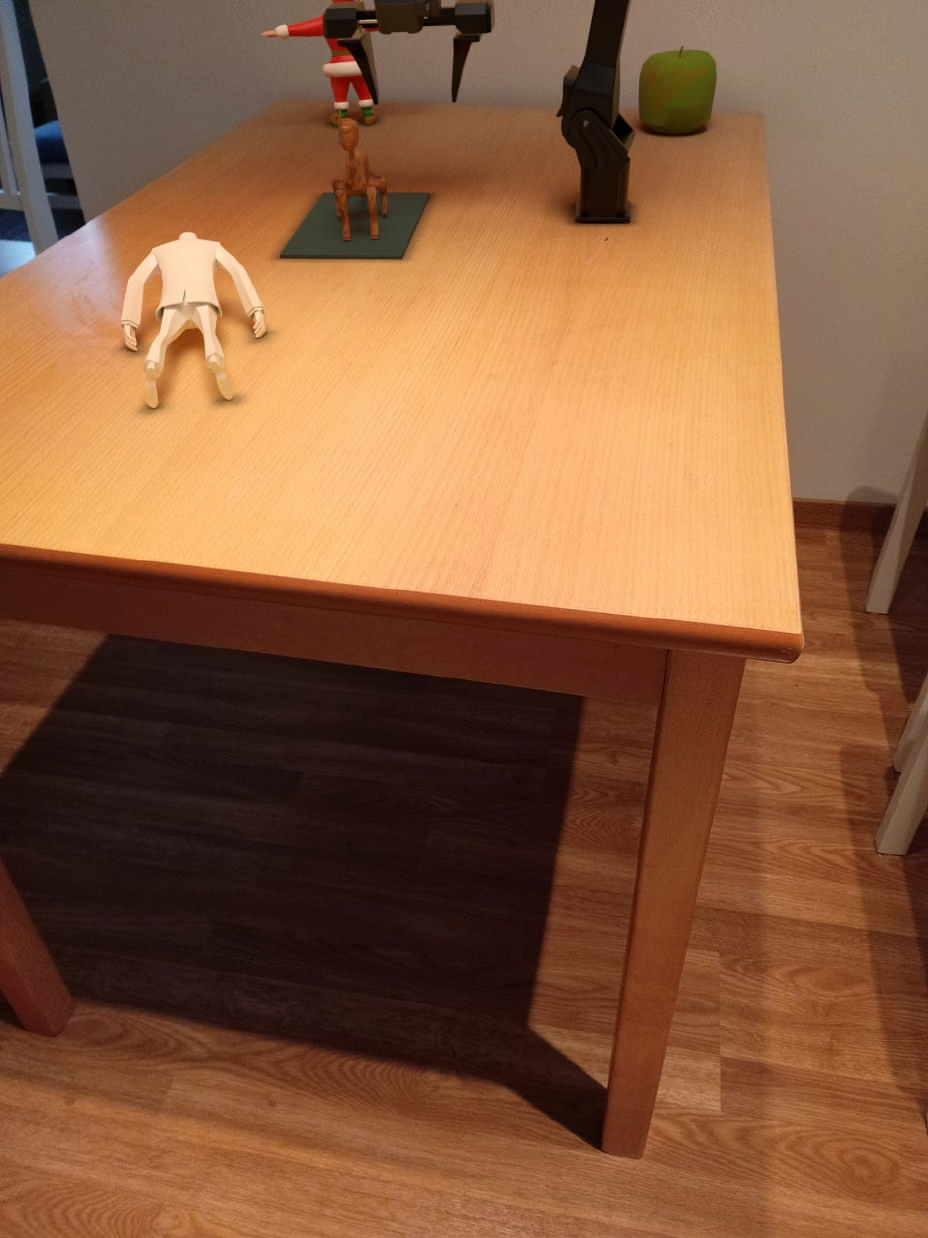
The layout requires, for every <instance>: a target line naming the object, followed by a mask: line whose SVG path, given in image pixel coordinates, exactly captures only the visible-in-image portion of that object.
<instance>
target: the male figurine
mask: <svg viewBox="0 0 928 1238" xmlns="http://www.w3.org/2000/svg"><path fill="white" fill-rule="evenodd" d="M219 270H220V271H221V270H222V271H223V272H224V273H225V274H226V275H227V276H229V277H230V278H231V279H232V280H233V283H234V286H235V289H236V292H237V294H238V297H239V299H240V302H241V304H242V307H243V309H244V312H245V314H246V316H247V317H248V318H249V319H251V320H253V321H254V325H253V327H252V329H253V330H254V332H253V333H254V334H255V336H254V337H255V338H256V339H258V338H261V337H262V336H263V335H264V334H265V333H266V332H267V322H266V319H265V313H266V312H265V311H266V308H265V306H264V304H263V302H262V300H261V298H260V296H259V294H258V291H257V290H256V288H255V285H254V284H253V282H252V280H251V278H250V276H249V274H248V272H247V271H246V269H245V267H244V266H243V265H242V264H241V263H239V261H238V260H237V259H236V257H234V256H233V254H231V253H230V252H229V251H228V250H227V249H225V248H224V247H223V245H221V242H219V241H214V240H208V239H203V238H198V236H197V235H196V234H195V233H194V232H191V231H185V232H182V233H181V234H179V236H178V239H176V240H172V241H169V242H166V243H164V244H160V245H158V246H155V247H153V248H151V251H150V253H149V254H148V255H147V256H146V257H145V258H144V259H143V261H142V262H141V263H139V265H138V267H136V269H135V271H134V272H133V273H132V274H131V275H130V276H129V279H128V281H127V285H126V290H125V296H124V300H123V305H122V306H123V307H122V312H121V318H120V325H121V327H120V328H122V329H123V333H122V334H123V339H124V342H125V346H126V347H127V348H129V349H130V350H132V351H135V352H136V351H137V350H138V348H137V339H136V332H138V331H139V330H140V328H141V319H142V311H143V303H144V293H145V289H146V288H147V287H148V286H149V284H150V283H151V282H152V281H153V280H154V278H156V277H157V276H159V277H161V279H162V280H161V281H162V288H161V289H162V290H161V297H160V301H159V303H158V307H157V308H156V310H155V312H154V313H155V314H154V316H155V320H156V322H157V323H158V324H160V330H159V333H158V335H156V337H155V338H154V339H153V341H152V344H151V345H150V348H149V350H148V353H147V355H146V356H145V358H144V361H143V363H142V365H141V366H140V369H141V370H142V371H143V372H144V374H145V389H144V396H145V397H144V398H145V402H146V404H147V405H148V406H149V407H150V408H153V409H155V408H157V407H158V404H159V393H158V390H157V387H156V379H159V378H160V376H161V374H162V373H163V371H164V365H165V358H166V356H165V355H166V351H167V349H168V345H170V344H171V343H173V342H174V341H175V340H176V339H178V337H179V336H181V335H182V334H183V333H184V332H185V331H186V330H189V329H198V330H199V331H200V333H201V335H202V336H203V344H204V358H205V359H204V360H205V366H206V367H207V368H208V369H209V370H211V371H212V372H213V373H214V376H215V379H216V383H217V386H218V389H219V391H220V393H221V395H222V396H223V397H224V398H225V399H226V400H229V401H230V400H231V399H232V398H233V396H234V391H233V387H232V385H231V382H230V381H229V380H228V378H227V376H226V373H225V372H224V366H225V361H226V360H225V359H226V358H225V355H224V352H223V348H222V345H221V343H220V341H219V339H218V336H217V334H216V328H217V322H218V321H217V320H219V319H221V318H222V316H223V311H222V308H221V306H220V303H219V300H218V296H217V293H216V289H215V281H216V278H217V274H218V272H219Z"/></svg>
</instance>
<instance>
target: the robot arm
mask: <svg viewBox="0 0 928 1238" xmlns="http://www.w3.org/2000/svg"><path fill="white" fill-rule="evenodd" d="M373 5H374V8H369V9H368V8H366V5H365V1H364V0H360V1H357V0H355V1H351V2H334V3H333V2H332V4H330V5H329V6H328V7H327V8H326V9H325V10H324V12H323V13H322V16H323V19H322V22H323V31H324V36H323V38H324V39H325V38H326V39H338V41H337V45H338V46H339V47H345V48H347V50H348V51H349V52H350V53H351V54H352V56H353V57H354V59H355V61H356V63H357V65H358V67H359V69H360V71H361V73H362V75H363V78H364V80H365V83H366V85H367V88H368V90H369V93H370V97H372V98H371V99H372V100H373V105H374V106H378V105H379V103H380V95H379V94H380V91H379V90H380V89H379V88H380V87H379V82H378V75H377V66H376V67H375V63H376V61H375V54H374V48H373V39H372V34H371V33H372V32H370V31H369V32H364V31H365V30H366V29H367V28H378V31H377V32H379V33H380V34H381V35H385V36H386V35H387V36H388V35H392V33H407V34H408V35H412V34H413V35H414V34H418V33H420V32H421V31H422V30H423V28H424V27H449V26H454V27H455V30H456V33H455V35H454V36H453V38H452V45H453V46H452V50H453V51H452V53H453V54H452V69H451V71H452V72H451V86H450V88H451V90H450V91H451V103H452V104H455V103H457V100H458V96H459V91H460V88H461V87H460V86H461V83H462V78H463V74H464V70H465V67H466V63H467V59H468V56H469V53H470V49H471V48H472V45H473V44H474V43H479V42H481V40H482V38H483V35H484V34H490V33H492V32H493V30H494V28H495V27H494V26H495V25H496V19H495V18H496V15H495V13H496V10H495V2H494V0H456V1H455V4H454V5H449V6H448V5H447V6H442V0H373ZM593 5H594V6H593V9H592V15H591V19H590V20H591V21H590V25H589V31H588V37H587V42H586V47H585V51H584V52H585V53H584V56H583V59H582V62H581V63H580V67H579V66H577V65H574V64H572V65H571V66H570V67H569V69H568V70H567V72H566V73H565V75H564V76H563V80H562V97H561V98H562V99H561V104H560V106H559V109H558V111H557V113H556V115H555V116H556V118H560V117H561V120H560V130H561V136H562V137H563V138H564V140H565V141H566V143H567V144H568V146H570V147H571V148H572V149H573V150H574V151H575V154H576V157H577V160H578V164H579V167H580V176H579V179H580V180H579V200H577V201H576V203H575V213H574V221H575V222H578V223H629V222H631V217H632V216H631V215H632V214H631V213H632V211H631V201H630V200H629V186H630V174H631V157H630V156H629V152H630V150H631V147H632V145H633V142H634V140H635V137H636V134H637V133H636V130H635V129H634V128H633V126H632V125H631V124H630V122H628V120H627V119H626V118H625V117H624V116H623V115H622V113H620V99H621V98H620V97H621V53H622V49H623V43H624V40H625V34H626V29H627V24H628V19H629V16H630V15H629V14H630V10H631V5H632V0H594V4H593ZM326 39H325V40H326Z"/></svg>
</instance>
